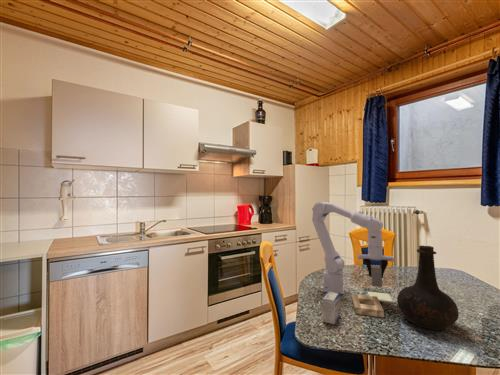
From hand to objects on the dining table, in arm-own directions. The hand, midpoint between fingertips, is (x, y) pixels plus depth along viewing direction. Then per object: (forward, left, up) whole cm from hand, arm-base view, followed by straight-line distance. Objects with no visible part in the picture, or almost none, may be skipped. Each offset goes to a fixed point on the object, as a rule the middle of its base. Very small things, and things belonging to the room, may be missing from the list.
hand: (375, 276), depth 110 cm
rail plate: (-5, -9, -10) cm, 15 cm away
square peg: (0, 0, -3) cm, 4 cm away
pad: (+2, +4, -10) cm, 11 cm away
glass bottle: (+14, -16, -11) cm, 24 cm away
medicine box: (-19, -23, -11) cm, 32 cm away
